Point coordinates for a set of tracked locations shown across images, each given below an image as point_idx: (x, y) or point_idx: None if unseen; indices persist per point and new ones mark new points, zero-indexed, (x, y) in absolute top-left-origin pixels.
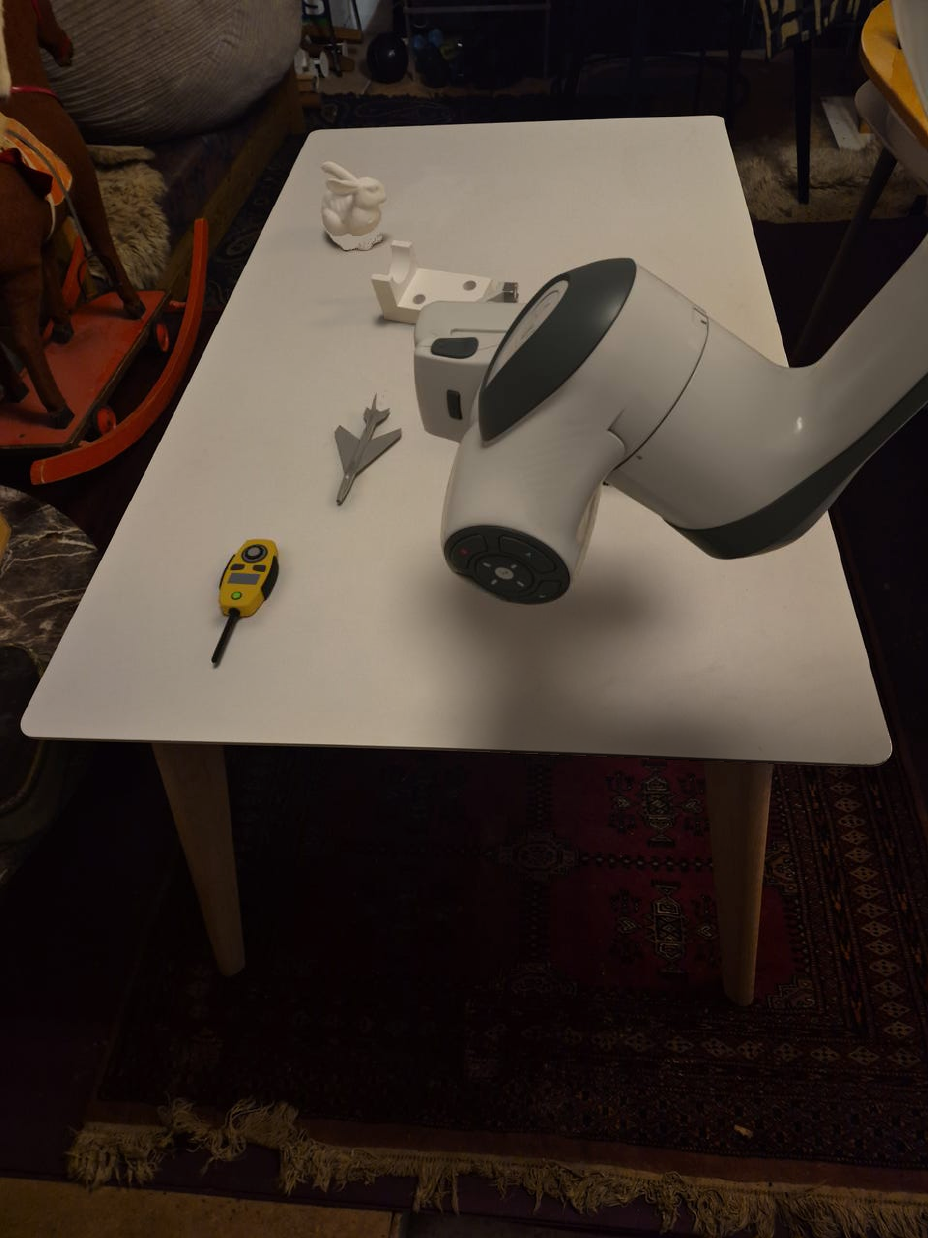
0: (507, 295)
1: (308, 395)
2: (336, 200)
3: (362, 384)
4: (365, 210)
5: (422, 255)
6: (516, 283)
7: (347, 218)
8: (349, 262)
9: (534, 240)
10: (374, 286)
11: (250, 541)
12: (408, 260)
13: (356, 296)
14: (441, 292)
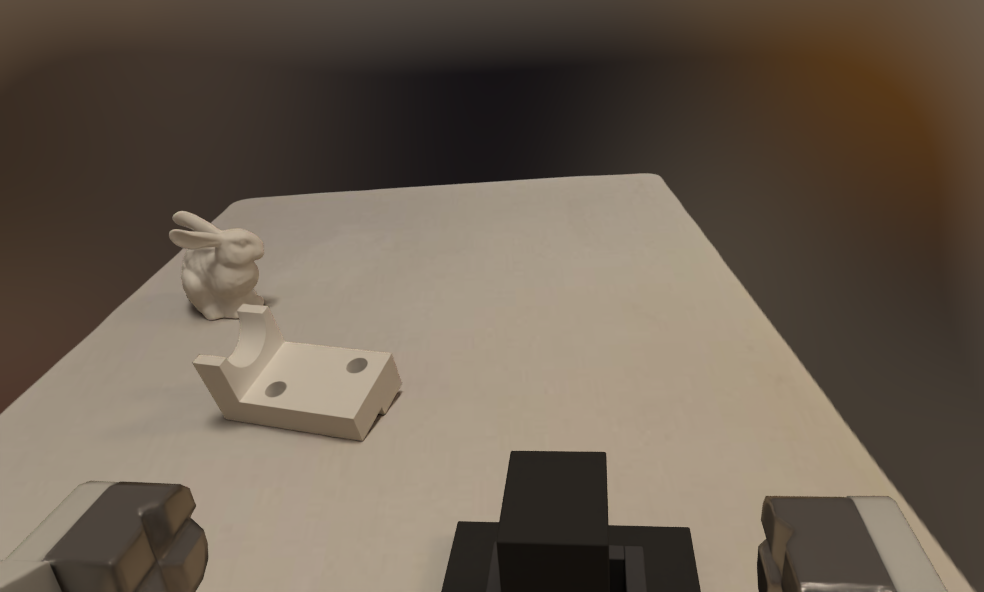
0: (77, 581)
1: None
2: (196, 258)
3: None
4: (232, 269)
5: (311, 322)
6: (161, 495)
7: (208, 280)
8: (208, 335)
9: (464, 298)
10: (200, 374)
11: None
12: (263, 332)
13: (197, 384)
14: (312, 377)
